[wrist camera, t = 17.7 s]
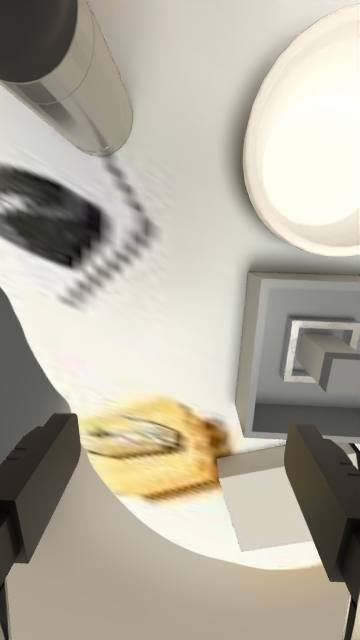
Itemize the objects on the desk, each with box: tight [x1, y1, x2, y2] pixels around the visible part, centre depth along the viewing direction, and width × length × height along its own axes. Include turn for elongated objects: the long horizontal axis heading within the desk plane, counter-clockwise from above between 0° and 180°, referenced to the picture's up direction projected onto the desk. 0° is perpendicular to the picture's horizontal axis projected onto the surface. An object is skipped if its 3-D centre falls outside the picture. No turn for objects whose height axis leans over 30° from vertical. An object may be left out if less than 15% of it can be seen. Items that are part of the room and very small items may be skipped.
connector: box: [298, 334, 360, 394], centre depth 37 cm, size 4×4×9 cm
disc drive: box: [217, 442, 360, 552], centre depth 48 cm, size 18×22×5 cm
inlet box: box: [235, 272, 360, 444], centre depth 38 cm, size 22×22×8 cm
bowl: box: [243, 3, 360, 257], centre depth 31 cm, size 22×22×8 cm
